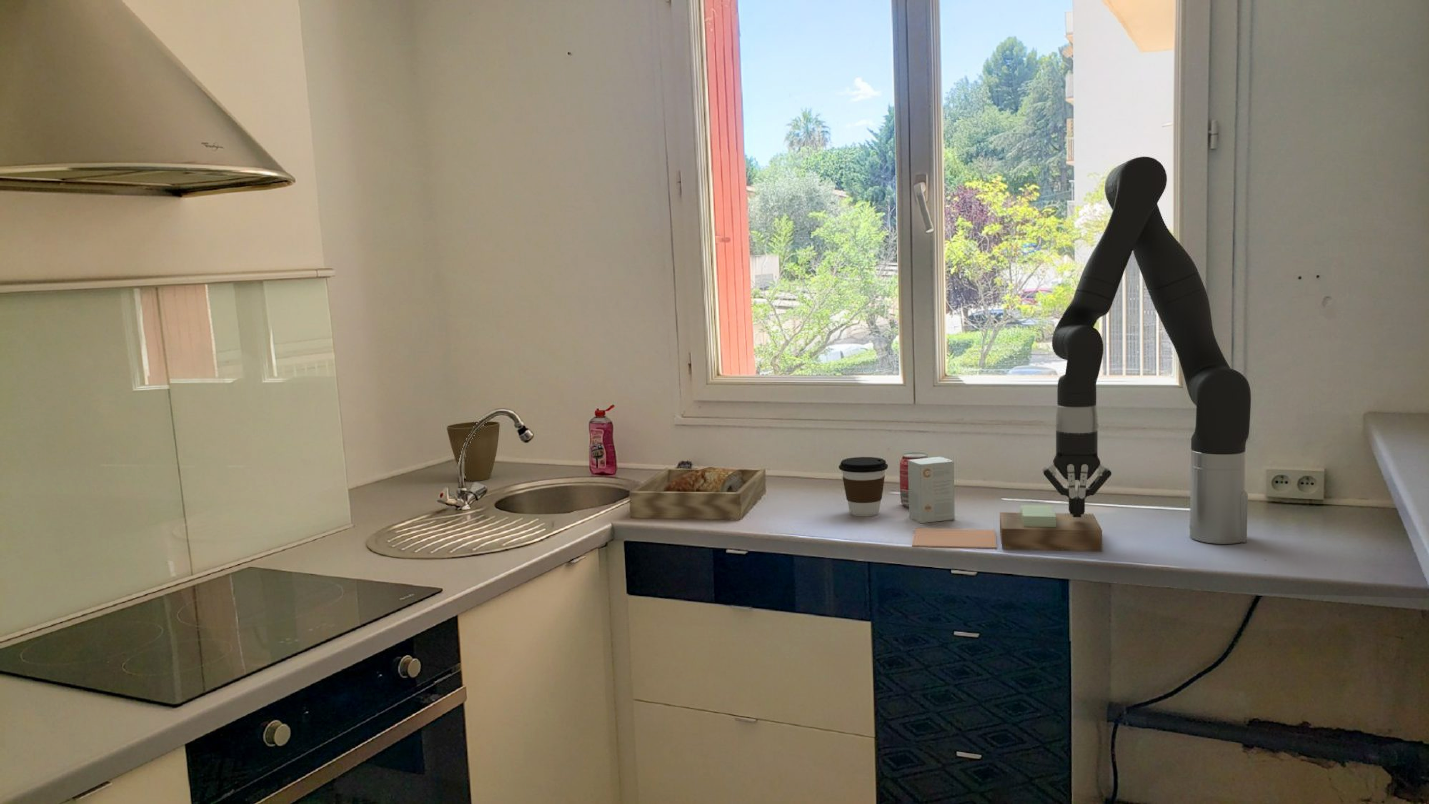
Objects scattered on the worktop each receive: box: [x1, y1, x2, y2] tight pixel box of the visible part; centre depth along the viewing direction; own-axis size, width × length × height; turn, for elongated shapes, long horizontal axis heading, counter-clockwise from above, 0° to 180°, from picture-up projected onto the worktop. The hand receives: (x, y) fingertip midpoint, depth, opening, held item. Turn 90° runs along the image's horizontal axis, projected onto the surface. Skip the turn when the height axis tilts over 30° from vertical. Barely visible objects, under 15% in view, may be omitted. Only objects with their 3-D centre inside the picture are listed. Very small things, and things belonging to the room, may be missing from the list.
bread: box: [660, 466, 743, 492], centre depth 234 cm, size 20×18×10 cm
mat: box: [911, 528, 997, 550], centre depth 196 cm, size 16×13×1 cm
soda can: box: [899, 451, 929, 508], centre depth 224 cm, size 7×7×12 cm
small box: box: [908, 456, 956, 524], centre depth 212 cm, size 8×6×13 cm
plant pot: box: [446, 420, 501, 482], centre depth 281 cm, size 15×15×16 cm
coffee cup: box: [838, 456, 889, 517], centre depth 220 cm, size 11×11×12 cm
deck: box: [999, 511, 1103, 552], centre depth 191 cm, size 18×13×4 cm
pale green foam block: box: [1020, 504, 1056, 527], centre depth 191 cm, size 6×9×2 cm, turn 165°
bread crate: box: [628, 468, 767, 521], centre depth 236 cm, size 26×28×6 cm
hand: (1076, 516), depth 189 cm, fingers closed
